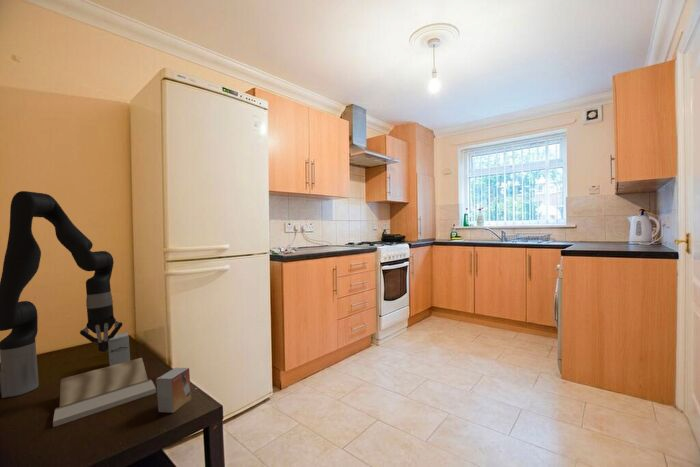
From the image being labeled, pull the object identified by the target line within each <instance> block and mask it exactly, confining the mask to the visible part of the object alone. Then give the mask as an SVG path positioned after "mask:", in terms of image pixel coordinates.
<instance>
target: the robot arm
mask: <svg viewBox="0 0 700 467" xmlns="http://www.w3.org/2000/svg"><path fill="white" fill-rule="evenodd" d="M33 218H43V219H45V220H46V221H48V222H49V223H51V224H52V225H53V228H54V232H55V237H56V239H57V240H58V241H59V243H60V244H61V245H62V246H63V247H64V248H65V249H66V250H68V252H70V253H71V256H72V259H73V260H74V262H75V263H76V265H77V267H78V268H80V269H81V270H83V271H85V272H94V273H93V276H92V277H89V278H87V279H86V280H85V290H86V291H85V292H86V302H85V303H86V305H85V306H86V314H87V323H86V326H85V327H84V328H83V329H81V330H80V331H79V334H80V335H81V336H82V337H84V338H85V339H87V340H88V341H90V342H91V343H97V344H98V352H101V353H106V352H107V351H108V348H109V347H108V340H109V339H111V338H113V337H114V336H115V335H117V334H118V332H119V330H120V329H121V328H122V327H123V325H124V324H123V322H121V321H118V320H116V318H115V317H114V306H113V305H114V304H113V303H114V302H113V295H112V291H111V290H112V289H111V278H112V277H111V276H112V272H113V270H114V269H113V268H114V262H115V261H114V257H113V255H112V254H111V253H110V252H109V251H106V250H100V251H99V250H98V251H92V248H93V244H94V243H93V242H92V241H91V239H90V238H88V237H87V236H86V235H85V234H84V233H83V232H82V231H81V230H80V229H79V228H78V227H77V226H76V225H75V224H74V223H73V222H72V220H71V219H70V217H69V216H68V215H67V213H66V212H65V211H64V210H63V208H62V207H61V205H60V204H59V203H58V202H57V200H56V199H55V198H54V196H51V195H50V194H47V193H42V192H35V191H27V190H26V191H25V190H21V191H18V192H16V193H15V194H14V195H13V196H12V199H11V202H10V212H9V230H8V238H7V244H6V250H5V253H4V257H3V258H4V259H3V264H2V272H1V277H0V332H4V331H5V332H6V331H9V330H11V331H10V333H9V334H8V335H6V336H5V337H4V338H3V339H2V340H0V390H1V391H0V392H1V399H4V398H5V399H6V398H11V397H16V396H21V395H24V394H27V393H30V392H31V391H34V390H36V389H37V388H38V387H39V386H40V385H39V369H38V358H37V345H36V344H37V343H36V342H37V341H36V337H37V335H38V330H39V329H38V325H39V324H38V321H39V320H38V318H39V317H38V316H39V315H38V310H37V308H36V305H35V304H34V303H33V302H32V301H29V300H23V301H19V300H20V297H21V294H22V292H23V291H24V289H25V287H26V286H28V284H29V283H30V282H31V281H32V279H33V278H34V277H35V275H36V274H37V272H38V270H39V267H40V262H41V257H42V250H41V248H40V246H39V244H38V242H37V240H36V238H35V236H34V234H33V232H32V231H33V230H32V229H33V228H32V226H33V220H34V219H33ZM113 326H114V329H113V330H112V331H111V332H110V333H109V331H110V330H111V329H112V328H113ZM90 331H91V332H92V333H94V334H96V337H95V336H93V335H91V334H90V333H89V332H90ZM102 333H103V337H102Z"/></svg>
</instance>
